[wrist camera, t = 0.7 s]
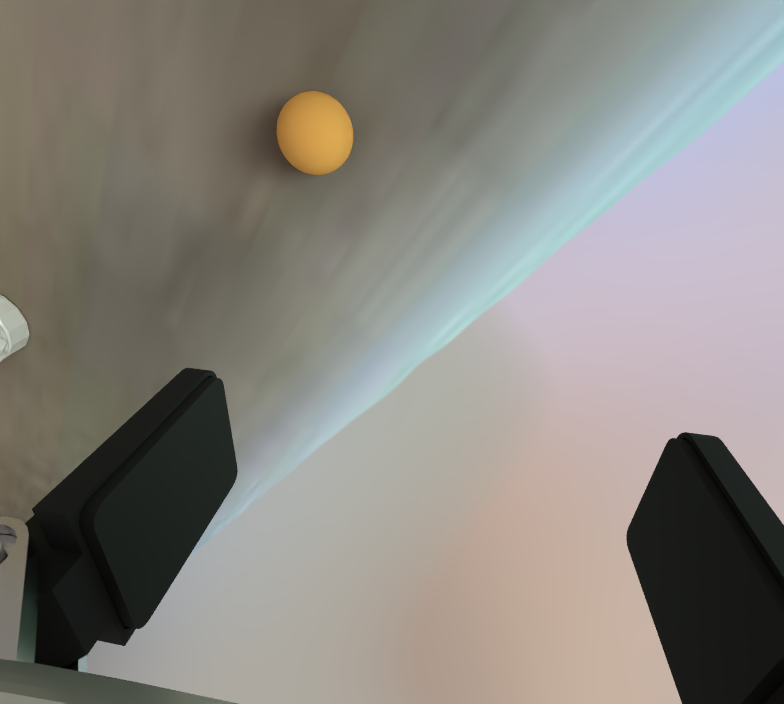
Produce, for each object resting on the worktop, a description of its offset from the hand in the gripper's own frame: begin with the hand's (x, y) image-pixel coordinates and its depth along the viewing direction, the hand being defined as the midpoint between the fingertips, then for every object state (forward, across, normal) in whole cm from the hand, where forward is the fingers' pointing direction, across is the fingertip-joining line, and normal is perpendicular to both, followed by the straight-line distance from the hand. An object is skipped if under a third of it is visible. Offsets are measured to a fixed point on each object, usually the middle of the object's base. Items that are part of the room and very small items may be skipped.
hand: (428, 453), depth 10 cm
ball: (+24, +10, -4) cm, 27 cm away
